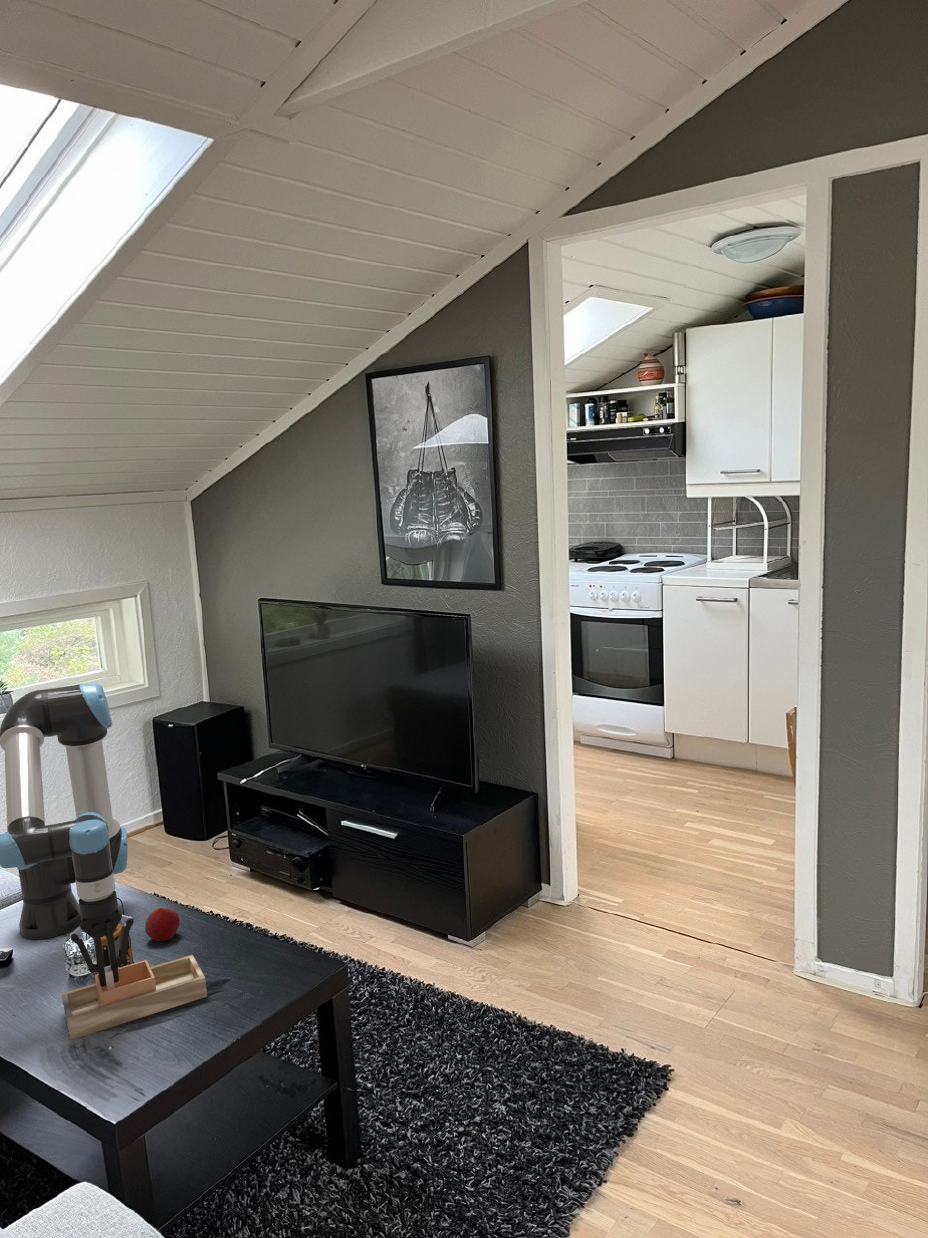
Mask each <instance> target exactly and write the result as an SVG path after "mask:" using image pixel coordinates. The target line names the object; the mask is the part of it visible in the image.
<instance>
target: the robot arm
mask: <svg viewBox="0 0 928 1238" xmlns="http://www.w3.org/2000/svg"><path fill="white" fill-rule="evenodd" d="M112 726H113V720H112V715H111V711H110V707H109V704H108V700H107V697H106V694H105V690H104V688H103V686H102V685H101V684H99V683H98V682H92V683H91V682H90V683H79V684H72V685H66V686H59V687H54V688H45V689H36V690H32V691H30V692H28V693H25V694H24V695H23V696H21V697H19V698H18V699H17V700H16V701H15V702H14V703H13V704H12V705H11V706H10V707H9V709H8V710H7V712H6V714H5V716H4V717H3V719H2V721H1V724H0V748H1V749H2V750H3V752H4V772H5V799H6V800H5V802H6V806H5V807H6V828H7V829H6V832H3V833H1V834H0V867H1V868H2V869H13V868H15V869H16V868H17V869H16V870H18V874H19V882H20V889H21V896H22V897H21V898H22V909H21V913H20V920H19V923H18V926H19V927H18V929H19V933H20V936H21V937H22V938H25V939H27V940H28V939H29V940H46V939H49V938H51V939H52V938H54V937H58V936H60V935H64V934H66V933H69V936H70V940H71V941H72V942H73V943H75V945H77V947H78V950H79V951H80V954H81V957H82V959H83V960H84V962H85V965H86V967H87V969H88V972H89V973H90V974H94V973H97V974H98V975H99V982H100V985H101V986H102V987H103V986H106V991H108V990H111V989H114V988H115V986H114V983H116V982H118V981H119V975H118V966H119V965H121V964H124V963H125V962H126V956H127V948H128V940H129V935H130V931H131V928H132V926H133V924H134V919H133V917H132V915H131V914H128V915H125V914H124V915H123V913H122V912H121V910H120V908H119V904H118V903H119V902H118V899H117V898H118V897H117V891H116V883H115V875H117V874H121V873H124V872H125V871H126V869H127V866H128V854H129V853H128V831H127V829H126V827H122V826H121V825H120V822H119V821H118V820H117V819H115V818H113V817H114V816H113V811H112V804H111V803H112V802H111V799H110V797H111V796H110V790H109V783H108V782H109V781H108V775H107V767H106V760H105V754H104V745H103V740H104V739H105V738H106V737H107V735H108V729H109V728H111V727H112ZM49 737H57V742H58V743H59V744H60V745H61V746H64V747H65V753H66V759H67V764H68V772H69V778H70V784H71V791H72V798H73V805H74V810H75V819H73V820H70V821H64V822H58V823H55V824H48V825H46V820H45V805H44V790H43V775H42V759H41V756H42V755H41V747H42V746H43V744H44V742H45V738H49ZM72 884H75V886H76V887H75V888H76V893H77V897H78V898H79V899H78V900H77V899H76V896H75V895H74V893H73V890H72ZM118 924H121V925H122V929H121V937H120V945H119V954H118V957H117V958H116V952H115V945H114V936H113V932H114V931H115V929H116V928H117V926H118ZM74 929H75V930H74ZM83 932H84V933H86V935H88V936H89V937H90V938H92V939H93V947H94V953H95V954H94V955H95V960H96V963H94V961H93V960H92V957H91V955H90V953H89V951H88V948H87V946H86V944H85V942H84V940H83V937H84V934H83ZM103 936H106V940H107V947H108V954H109V961H110V966H107V967H104V960H103V953H102V946H101V937H103Z"/></svg>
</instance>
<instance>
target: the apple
mask: <svg viewBox="0 0 928 1238" xmlns="http://www.w3.org/2000/svg"><path fill="white" fill-rule="evenodd" d="M179 926H180V916H179V914H178V912H177V911H176V910H174V909H170V908H166V907H165V908H164V907H157V908H156V909H154V910H152V912H150V914H149V915H148V917H147V918H146V921H145V926H144V928H145V929H144V930H145V933H146V935H147V936H148V937H149V938H150V939H151V940H152V941H157V942H165V941H168V940H170V939H172V938H173V937H174V936H175V934H176V932H177V931H178V929H179Z"/></svg>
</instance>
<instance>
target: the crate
mask: <svg viewBox="0 0 928 1238" xmlns="http://www.w3.org/2000/svg"><path fill="white" fill-rule="evenodd" d="M150 967H151V966H150V964H149V962H148V959H144V960H141V961H139V962H134V964H131V965H127V966H124V967H120V968H118V975H119V981H118V982H116V983H114V986H115V988H114V989H111V990H108V991H106V986H103V987H102V986H101V985H100V982H99V975H98V973H97V974H95V975H94V979H95V980H94V981H95V983H96V989H97V996H98V1002H99V1005H100V1008H101V1007H104V1006H107V1005H110V1004H113V1003H117V1002H120V1001H123V1000H126V999H130V998H133V997H136V996H139V995H142V994H146V993H149V992H152V991H155V990H156V984H155V977H154V975H153V973H152V970H151V968H150Z"/></svg>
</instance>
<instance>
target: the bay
mask: <svg viewBox="0 0 928 1238" xmlns="http://www.w3.org/2000/svg"><path fill="white" fill-rule="evenodd" d="M150 968H151V970H152V973H153V975H154V977H155V984H156V990H155V991H152V992H149V993H146V994H142V995H139V996H136V997H133V998H130V999H126V1000H123V1001H120V1002H117V1003H113V1004H110V1005H107V1006H104V1007H101V1008H100V1005H99V1002H98V996H97V989H96V982H95V983H93V984H90V985H89V984H88V985H86V986H82V987H78V988H75V989H72V990H69V991H65V992H63V993H61V999H62V1005H63V1013H64V1016H65V1021H66V1025H67V1029H68V1033H69V1037H70V1038H69V1039H70V1041H72V1040H75V1039H79V1038H82V1037H85V1036H88V1035H92V1034H94V1033H98V1032H101V1031H103V1030H107V1029H110V1028H113V1027H116V1026H120V1025H122V1024H126V1023H128V1022H129V1023H130V1022H132V1021H136V1020H139V1019H142V1018H145V1017H148V1016H150V1015H151V1016H152V1015H154V1014H156V1013H161V1012H164V1011H166V1010H170V1009H172V1008H176V1007H179V1006H182V1005H185V1004H188V1003H192V1002H194V1001H197V1000H198V1001H199V1000H201V999H203V998H207V997H208V991H207V990H208V989H207V982H206V976H205V974H204V972H203V971H202V969H201V967H200V965H199V964H198V962H197V960H196V958H195V957H194V955H193V954H190V955H186V956H183V957H180V958H176V959H174V960H170V961H166V962H163V963H159V964H156V965H153V966H150Z"/></svg>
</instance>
